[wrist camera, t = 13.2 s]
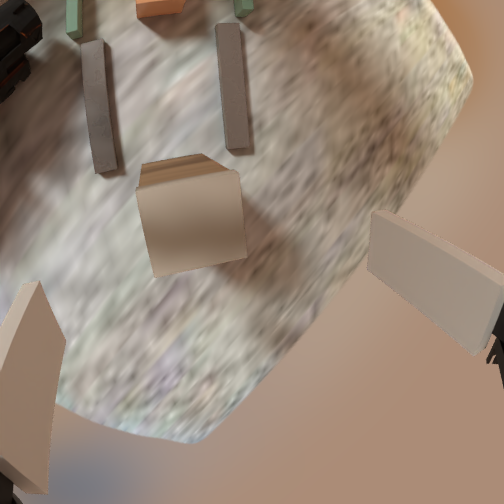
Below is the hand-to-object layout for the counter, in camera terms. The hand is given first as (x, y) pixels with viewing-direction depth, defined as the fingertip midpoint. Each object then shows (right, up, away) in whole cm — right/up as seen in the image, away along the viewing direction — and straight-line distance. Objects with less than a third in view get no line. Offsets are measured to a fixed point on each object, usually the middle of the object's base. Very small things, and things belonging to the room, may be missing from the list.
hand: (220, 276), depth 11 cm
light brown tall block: (-6, +7, +17) cm, 19 cm away
